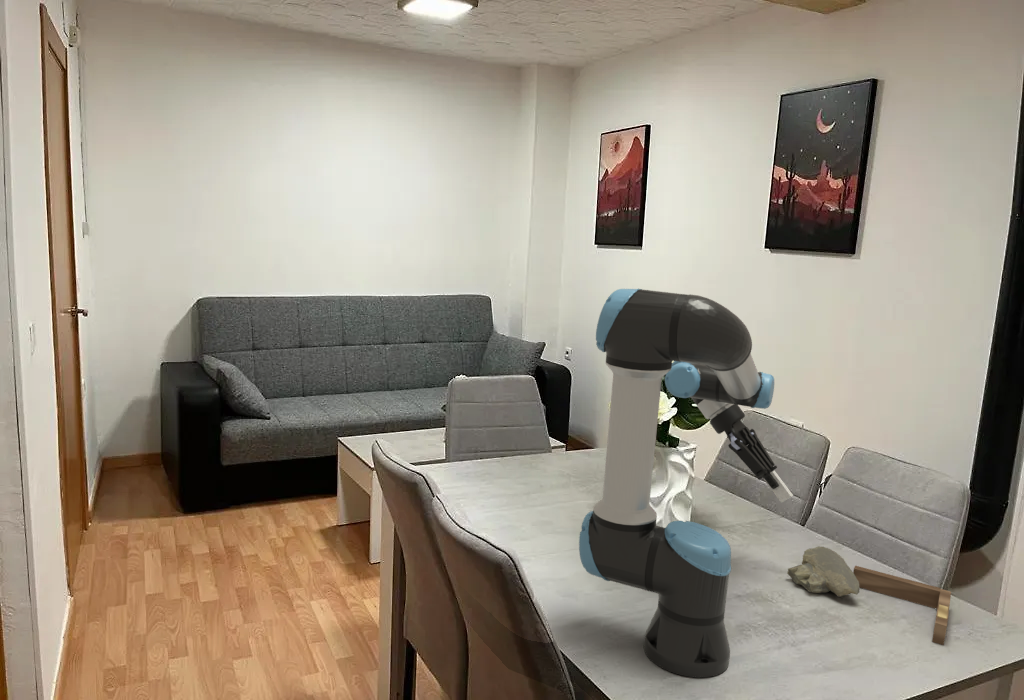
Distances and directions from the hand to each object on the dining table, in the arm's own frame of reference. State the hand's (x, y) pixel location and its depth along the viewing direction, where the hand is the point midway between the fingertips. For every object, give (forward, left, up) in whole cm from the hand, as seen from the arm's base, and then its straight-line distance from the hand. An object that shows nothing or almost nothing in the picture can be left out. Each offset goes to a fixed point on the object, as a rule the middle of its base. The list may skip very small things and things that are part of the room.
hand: (787, 498), depth 170 cm
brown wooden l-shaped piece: (0, -24, -19) cm, 30 cm away
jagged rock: (0, -10, -19) cm, 21 cm away
